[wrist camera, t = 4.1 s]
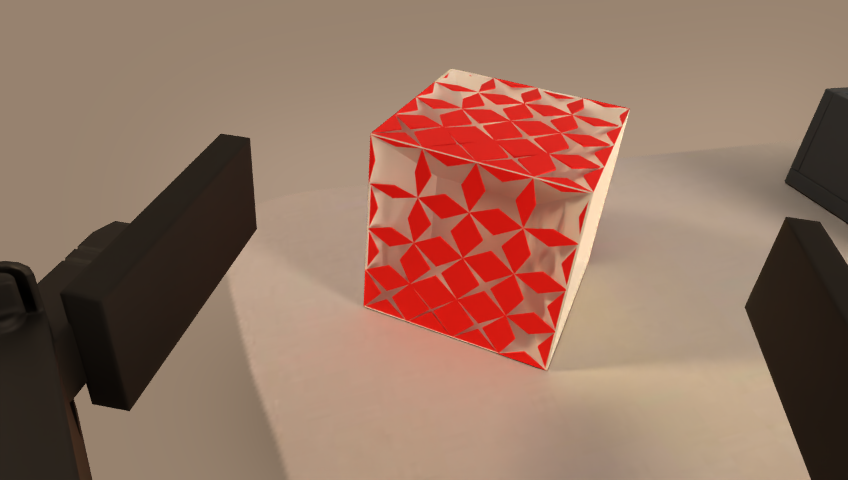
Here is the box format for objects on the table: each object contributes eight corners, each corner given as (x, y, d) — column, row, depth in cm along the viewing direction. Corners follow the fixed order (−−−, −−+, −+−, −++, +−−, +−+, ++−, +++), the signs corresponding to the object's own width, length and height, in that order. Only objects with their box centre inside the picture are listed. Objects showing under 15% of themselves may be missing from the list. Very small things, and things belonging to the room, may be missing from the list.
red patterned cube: (546, 371, 25) (593, 192, 21) (363, 306, 27) (370, 133, 23) (587, 262, 31) (630, 107, 27) (435, 217, 34) (451, 67, 29)
